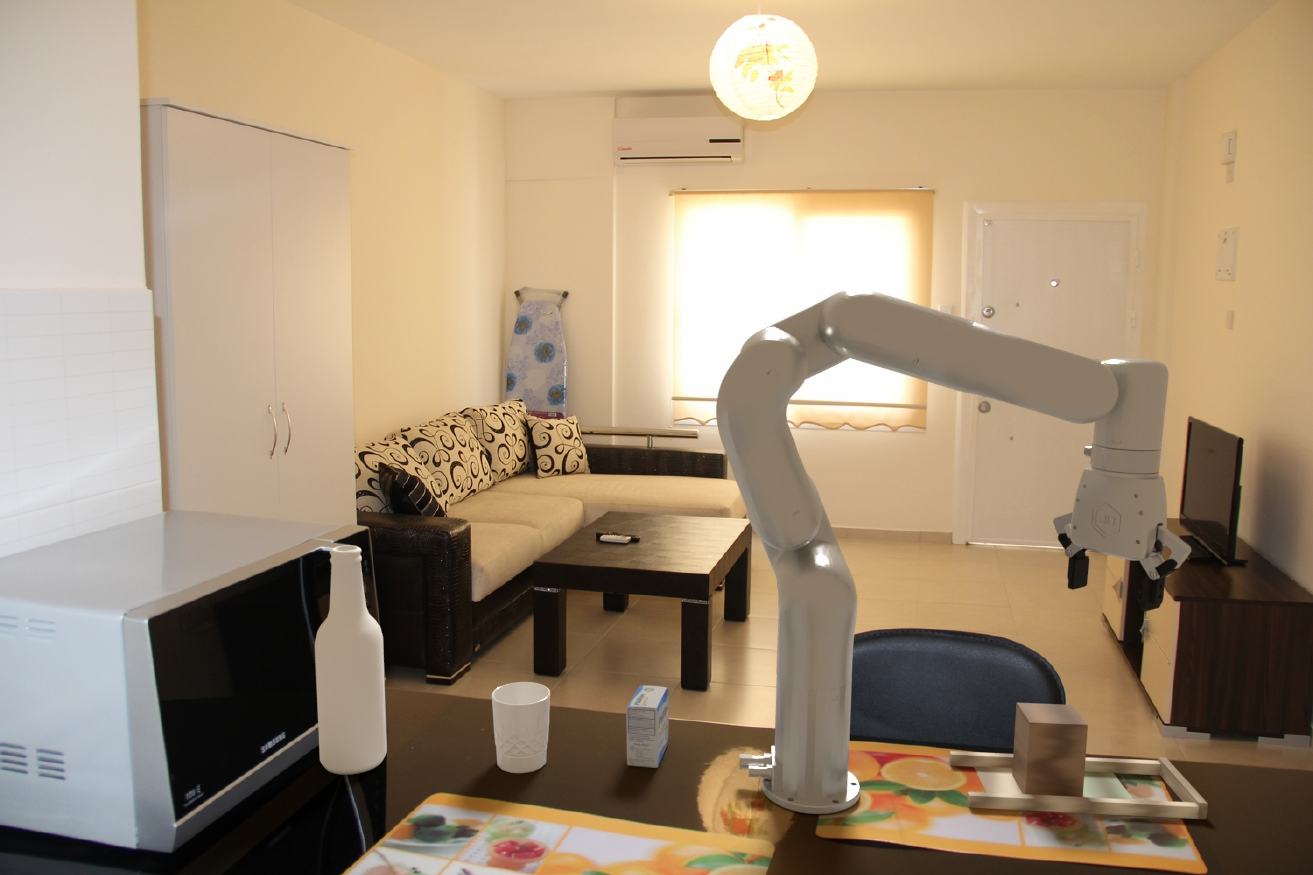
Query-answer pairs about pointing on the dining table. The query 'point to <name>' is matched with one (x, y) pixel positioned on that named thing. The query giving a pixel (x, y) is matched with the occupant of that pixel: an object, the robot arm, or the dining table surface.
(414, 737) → the dining table surface
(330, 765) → the alcohol
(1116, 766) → the channel board
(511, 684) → the white cup
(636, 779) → the dining table surface
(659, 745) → the medicine box
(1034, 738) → the walnut block
